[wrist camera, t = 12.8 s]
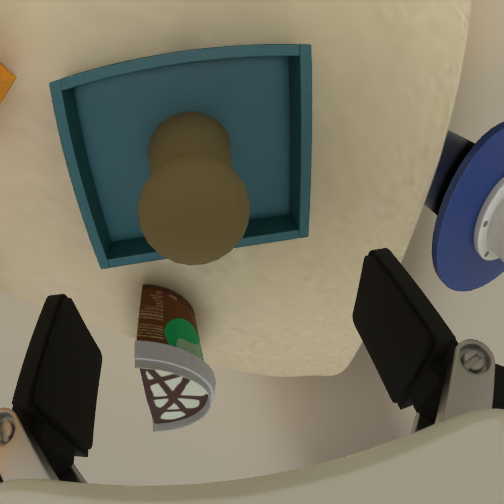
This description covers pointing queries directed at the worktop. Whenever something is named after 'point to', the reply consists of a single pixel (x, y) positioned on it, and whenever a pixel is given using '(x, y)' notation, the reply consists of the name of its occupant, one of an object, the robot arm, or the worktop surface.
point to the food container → (172, 360)
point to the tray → (187, 100)
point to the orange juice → (5, 81)
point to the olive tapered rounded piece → (192, 191)
